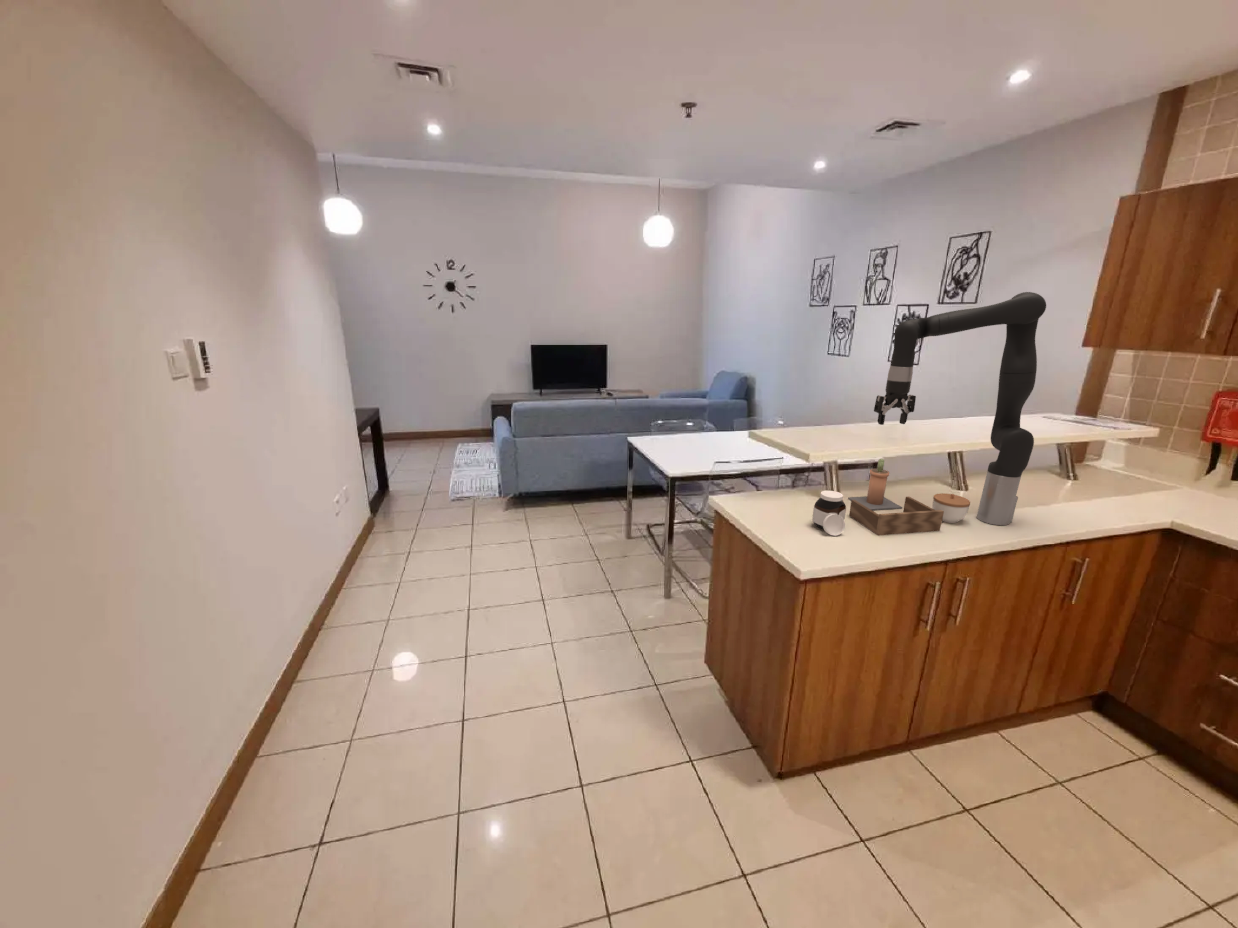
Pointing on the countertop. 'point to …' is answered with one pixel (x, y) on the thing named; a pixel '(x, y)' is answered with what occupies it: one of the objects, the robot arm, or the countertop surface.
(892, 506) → the rubber mat
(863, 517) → the open wooden tray
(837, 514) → the spread jar
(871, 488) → the terracotta pot
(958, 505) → the lidded jar
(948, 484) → the countertop surface
